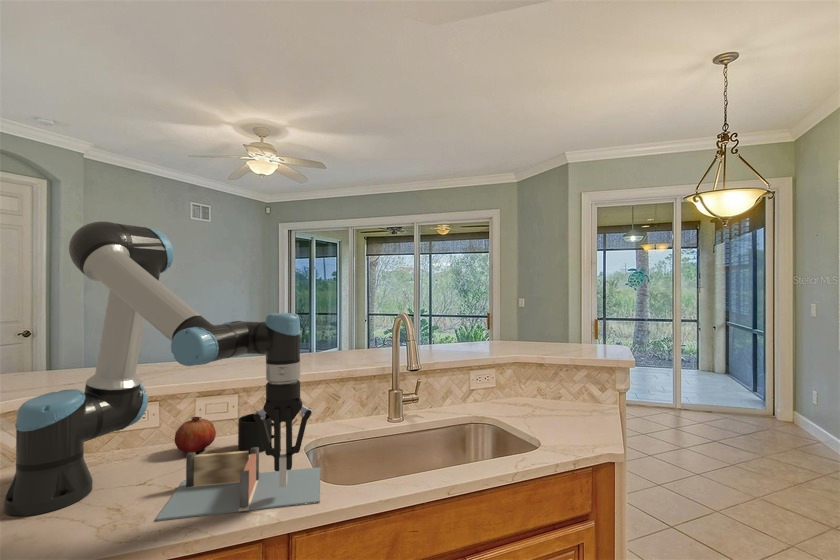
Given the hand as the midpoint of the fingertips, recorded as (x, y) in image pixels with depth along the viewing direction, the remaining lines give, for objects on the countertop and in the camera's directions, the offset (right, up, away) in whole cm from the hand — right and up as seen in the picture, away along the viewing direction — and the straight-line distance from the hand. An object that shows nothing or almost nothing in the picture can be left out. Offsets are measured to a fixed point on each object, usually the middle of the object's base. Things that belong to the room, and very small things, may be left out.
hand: (283, 484), depth 96 cm
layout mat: (-9, -3, +3) cm, 10 cm away
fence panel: (-8, -3, +1) cm, 9 cm away
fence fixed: (-17, -3, +7) cm, 19 cm away
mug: (-17, -4, +31) cm, 35 cm away
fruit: (-35, -4, +27) cm, 45 cm away
